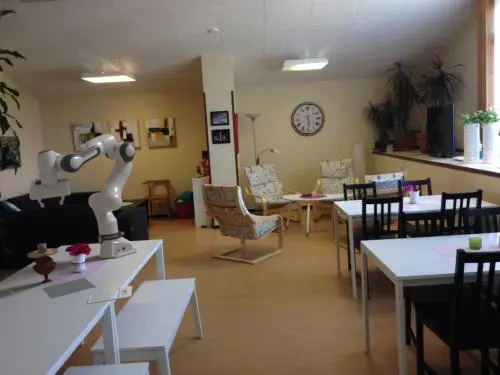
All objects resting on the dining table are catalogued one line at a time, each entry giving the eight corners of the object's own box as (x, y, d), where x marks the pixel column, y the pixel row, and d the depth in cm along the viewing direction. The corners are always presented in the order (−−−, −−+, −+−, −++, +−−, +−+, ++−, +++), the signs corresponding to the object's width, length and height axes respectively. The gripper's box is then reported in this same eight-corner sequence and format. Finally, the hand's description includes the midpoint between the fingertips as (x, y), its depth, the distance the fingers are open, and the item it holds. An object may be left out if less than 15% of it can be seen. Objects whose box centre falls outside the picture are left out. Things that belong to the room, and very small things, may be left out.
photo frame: (131, 295, 191) (87, 302, 187) (131, 298, 191) (88, 304, 187) (131, 285, 205) (91, 291, 201) (132, 287, 205) (91, 293, 201)
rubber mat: (84, 278, 224) (84, 277, 224) (96, 287, 208) (96, 286, 208) (42, 289, 213) (42, 288, 212) (51, 299, 196) (51, 298, 196)
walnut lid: (54, 248, 231) (53, 239, 230) (60, 253, 220) (59, 243, 219) (25, 254, 223) (23, 245, 222) (30, 259, 211) (29, 249, 211)
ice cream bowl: (49, 285, 217) (45, 256, 215) (30, 286, 219) (26, 257, 217) (63, 278, 227) (59, 250, 225) (44, 279, 229) (40, 251, 227)
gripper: (67, 177, 243) (70, 202, 244) (27, 182, 231) (30, 208, 232) (70, 178, 238) (73, 203, 239) (29, 182, 226) (32, 209, 227)
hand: (52, 205), depth 236 cm, fingers open, 8 cm apart
